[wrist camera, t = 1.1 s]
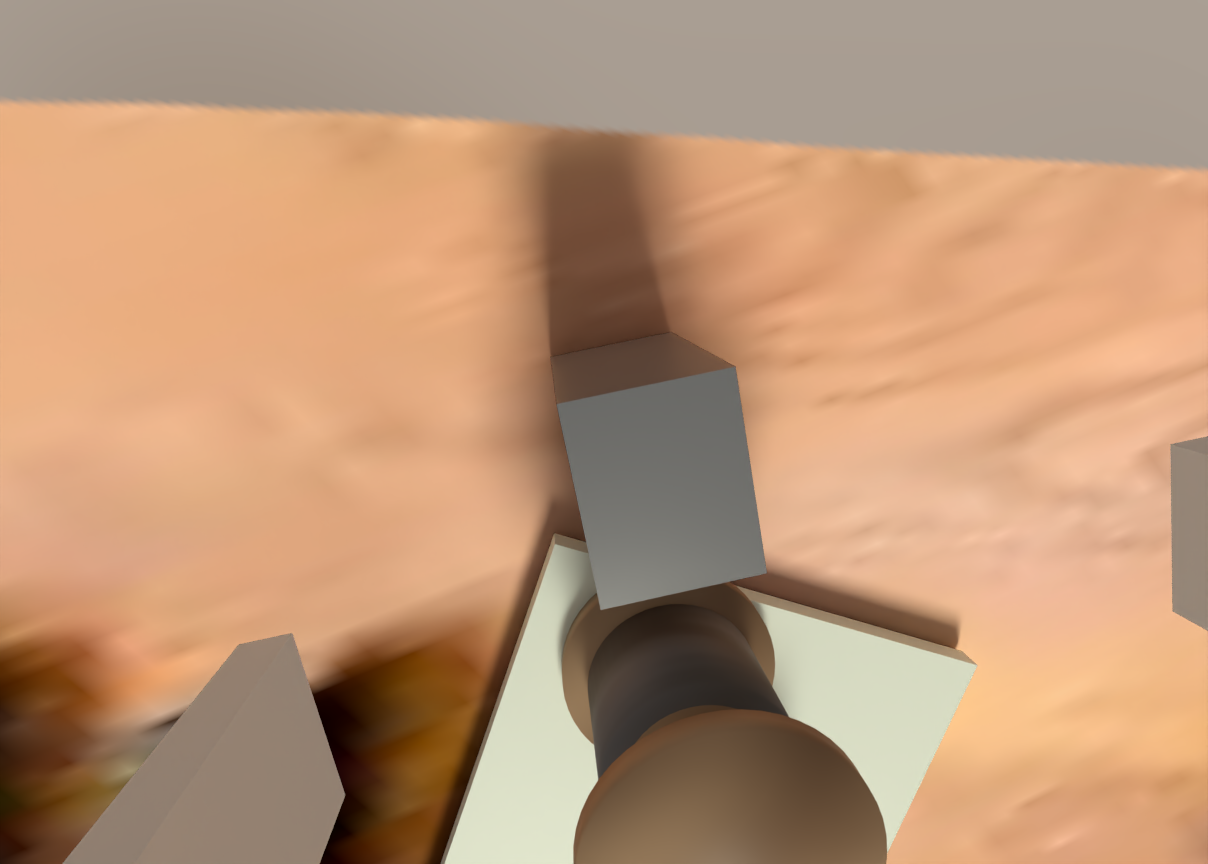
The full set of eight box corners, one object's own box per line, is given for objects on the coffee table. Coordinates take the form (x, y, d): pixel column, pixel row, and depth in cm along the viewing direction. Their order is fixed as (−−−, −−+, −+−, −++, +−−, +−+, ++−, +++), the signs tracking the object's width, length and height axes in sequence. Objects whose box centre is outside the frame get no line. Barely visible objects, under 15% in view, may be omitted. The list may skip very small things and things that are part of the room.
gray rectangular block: (580, 501, 25) (600, 609, 17) (550, 356, 24) (556, 404, 16) (696, 476, 25) (767, 573, 17) (671, 332, 24) (735, 366, 16)
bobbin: (534, 726, 26) (532, 968, 17) (601, 539, 24) (637, 696, 15) (724, 773, 27) (816, 1022, 18) (798, 596, 25) (936, 773, 17)
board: (413, 943, 28) (408, 968, 27) (554, 533, 25) (555, 544, 24) (788, 1016, 31) (797, 1040, 30) (961, 651, 28) (977, 665, 27)
